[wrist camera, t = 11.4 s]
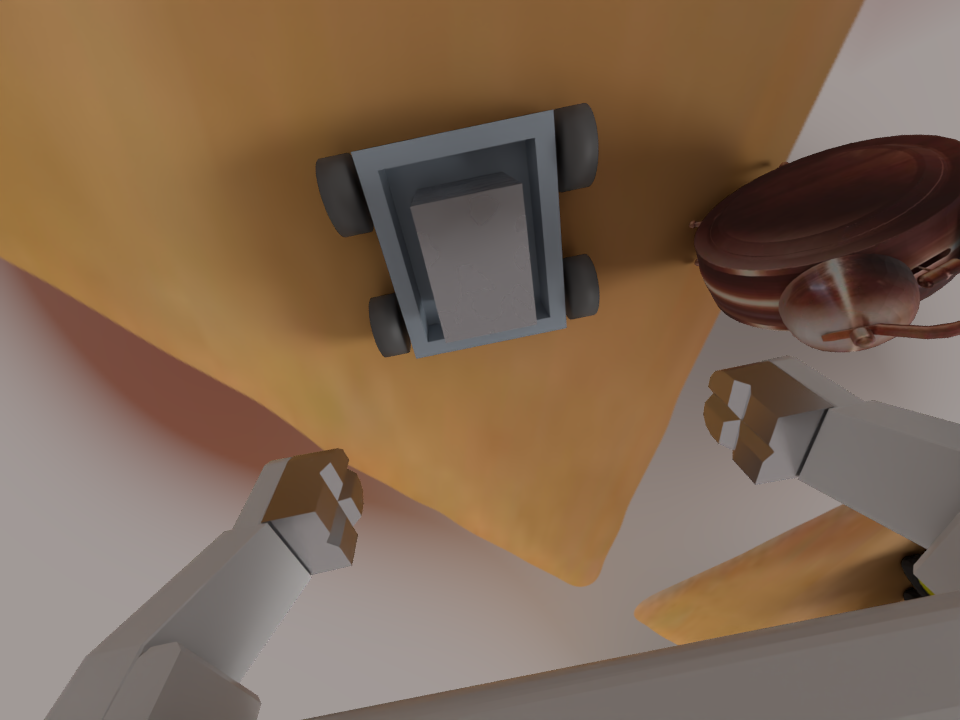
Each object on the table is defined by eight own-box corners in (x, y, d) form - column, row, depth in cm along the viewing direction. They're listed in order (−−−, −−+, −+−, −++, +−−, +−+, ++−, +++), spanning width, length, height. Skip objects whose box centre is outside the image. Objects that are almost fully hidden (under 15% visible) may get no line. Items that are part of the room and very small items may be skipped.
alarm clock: (673, 287, 27) (878, 422, 15) (650, 232, 25) (869, 335, 12) (826, 194, 25) (1233, 258, 12) (816, 123, 23) (1303, 113, 10)
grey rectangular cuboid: (416, 189, 21) (410, 206, 16) (502, 171, 21) (522, 183, 16) (444, 300, 25) (445, 343, 20) (517, 285, 25) (537, 324, 20)
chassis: (328, 156, 21) (307, 161, 18) (572, 105, 21) (598, 100, 18) (392, 339, 27) (385, 368, 24) (579, 301, 27) (599, 325, 24)
